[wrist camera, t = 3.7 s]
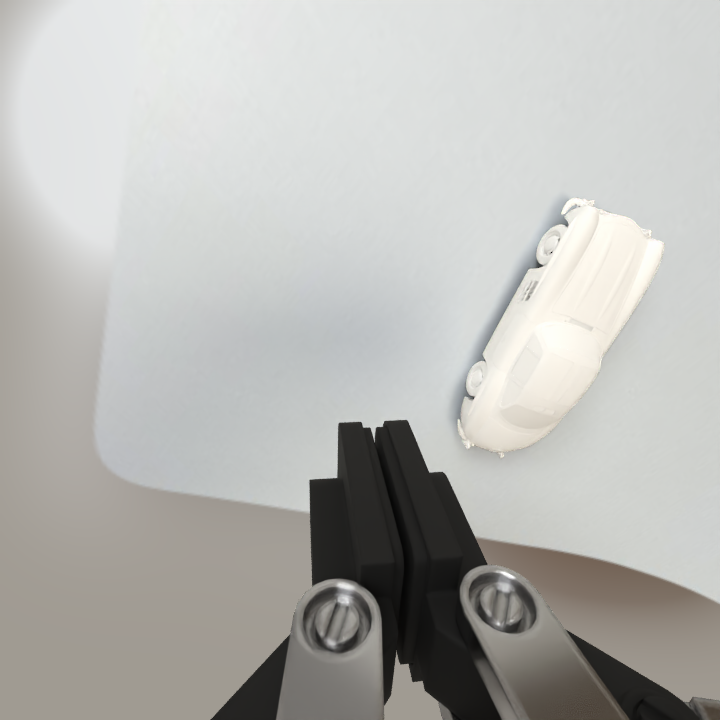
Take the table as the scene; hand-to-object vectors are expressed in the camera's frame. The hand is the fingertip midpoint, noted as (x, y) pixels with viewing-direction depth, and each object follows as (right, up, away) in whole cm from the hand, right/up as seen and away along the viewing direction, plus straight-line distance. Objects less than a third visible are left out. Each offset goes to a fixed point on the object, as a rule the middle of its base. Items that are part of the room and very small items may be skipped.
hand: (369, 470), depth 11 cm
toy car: (+8, +4, +10) cm, 13 cm away
